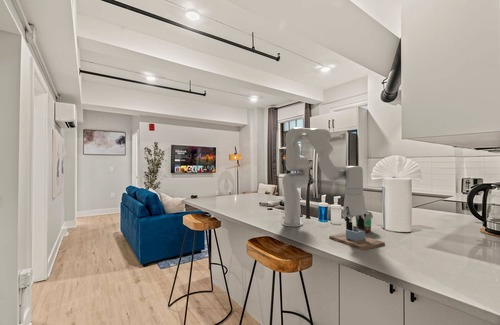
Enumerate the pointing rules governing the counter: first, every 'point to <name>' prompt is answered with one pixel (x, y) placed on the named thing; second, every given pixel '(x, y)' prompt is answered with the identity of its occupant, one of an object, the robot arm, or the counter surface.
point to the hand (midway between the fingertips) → (355, 228)
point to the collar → (355, 235)
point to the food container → (366, 222)
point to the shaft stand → (361, 244)
